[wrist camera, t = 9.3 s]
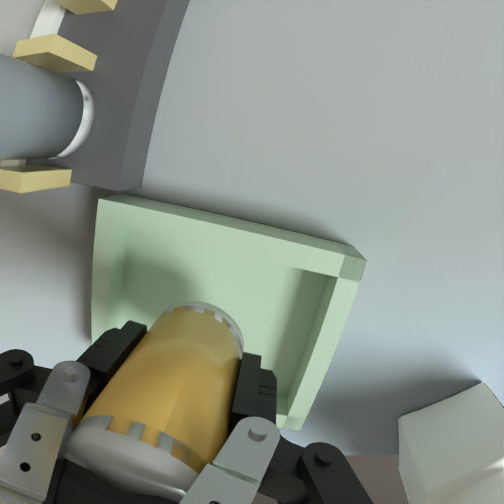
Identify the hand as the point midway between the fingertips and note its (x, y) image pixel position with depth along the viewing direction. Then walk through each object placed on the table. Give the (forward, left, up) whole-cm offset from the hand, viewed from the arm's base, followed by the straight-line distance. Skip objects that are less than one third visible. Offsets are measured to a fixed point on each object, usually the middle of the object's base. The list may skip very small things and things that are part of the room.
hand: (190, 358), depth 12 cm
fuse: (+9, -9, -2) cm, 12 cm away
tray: (0, 0, -5) cm, 5 cm away
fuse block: (+9, -18, -5) cm, 20 cm away
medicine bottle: (-18, +6, -5) cm, 20 cm away
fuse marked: (0, 0, -1) cm, 1 cm away
